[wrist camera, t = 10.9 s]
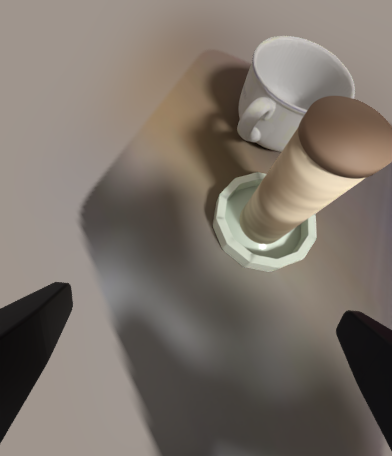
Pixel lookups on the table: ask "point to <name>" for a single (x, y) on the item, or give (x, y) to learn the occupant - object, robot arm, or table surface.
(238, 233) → the bowl
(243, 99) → the teacup
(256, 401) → the table surface
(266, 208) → the canister
